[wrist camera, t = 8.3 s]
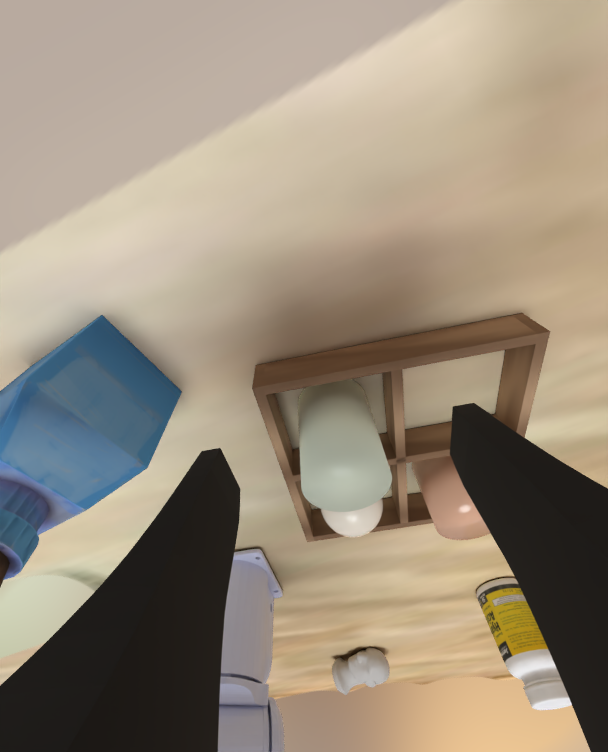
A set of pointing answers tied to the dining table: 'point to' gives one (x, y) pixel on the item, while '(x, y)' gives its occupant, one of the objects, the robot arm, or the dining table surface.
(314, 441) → the sage green cylinder
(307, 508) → the wooden compartment tray
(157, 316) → the dining table surface
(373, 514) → the egg
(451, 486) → the pink rounded cylinder
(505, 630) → the supplement bottle
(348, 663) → the smooth white sculpture
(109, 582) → the robot arm
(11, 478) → the perfume bottle
